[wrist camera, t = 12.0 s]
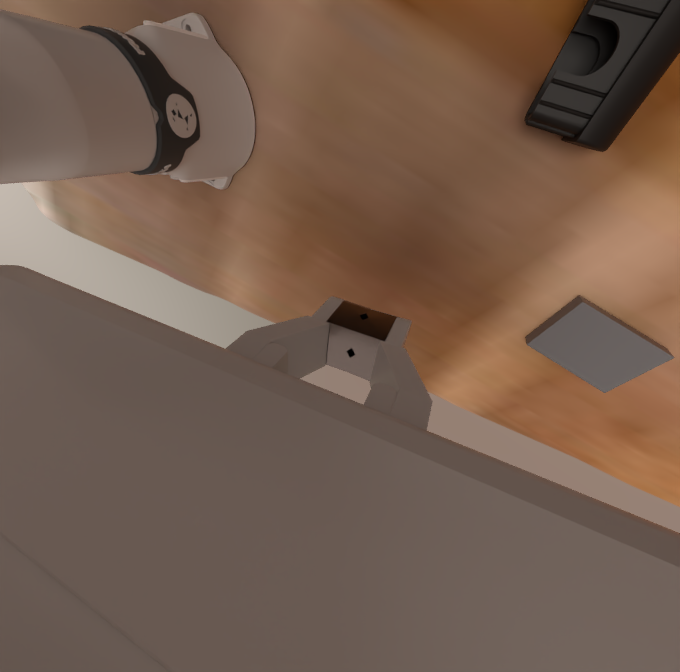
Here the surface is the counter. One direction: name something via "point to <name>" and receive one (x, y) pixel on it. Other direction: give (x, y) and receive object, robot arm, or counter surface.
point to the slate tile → (596, 345)
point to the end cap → (607, 69)
